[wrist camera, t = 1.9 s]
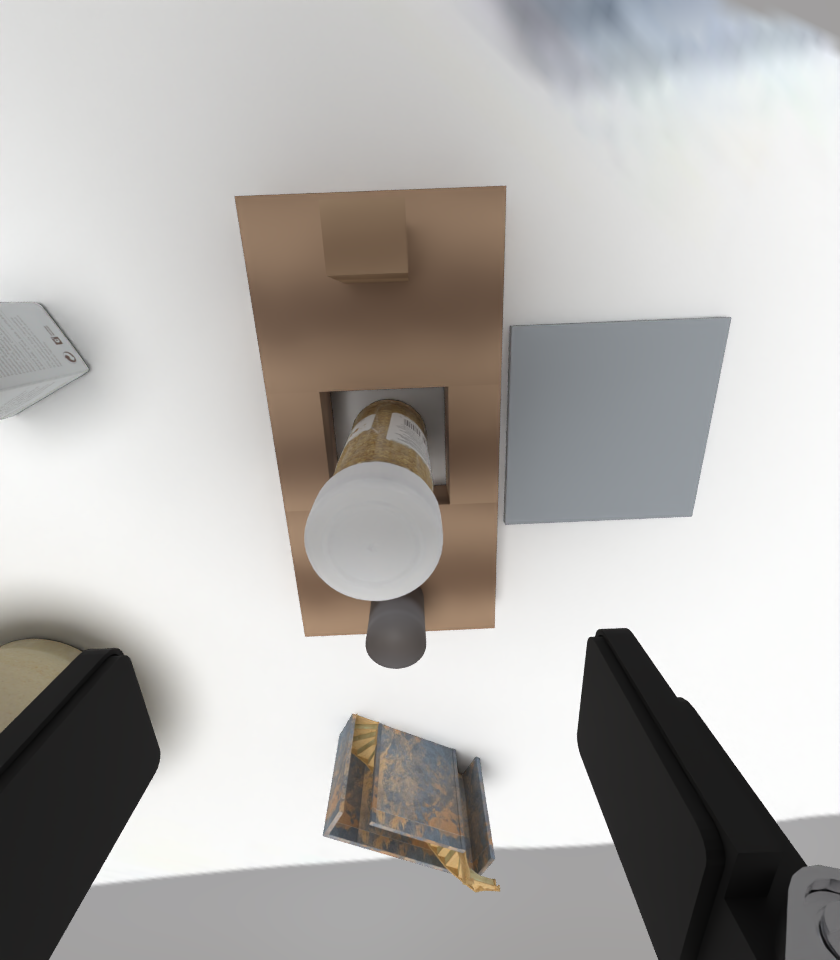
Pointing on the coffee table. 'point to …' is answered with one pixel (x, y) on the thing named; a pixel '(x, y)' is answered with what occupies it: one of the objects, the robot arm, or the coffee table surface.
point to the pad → (609, 418)
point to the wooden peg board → (385, 375)
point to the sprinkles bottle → (378, 509)
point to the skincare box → (32, 357)
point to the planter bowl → (29, 672)
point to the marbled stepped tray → (410, 802)
